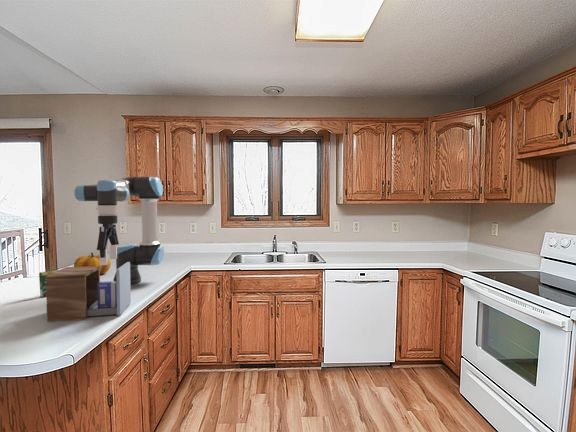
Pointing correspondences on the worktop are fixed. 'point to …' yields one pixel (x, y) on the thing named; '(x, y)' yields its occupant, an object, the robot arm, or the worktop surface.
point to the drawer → (122, 294)
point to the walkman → (107, 294)
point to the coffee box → (44, 281)
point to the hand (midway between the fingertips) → (108, 261)
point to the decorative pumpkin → (92, 262)
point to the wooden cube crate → (71, 292)
